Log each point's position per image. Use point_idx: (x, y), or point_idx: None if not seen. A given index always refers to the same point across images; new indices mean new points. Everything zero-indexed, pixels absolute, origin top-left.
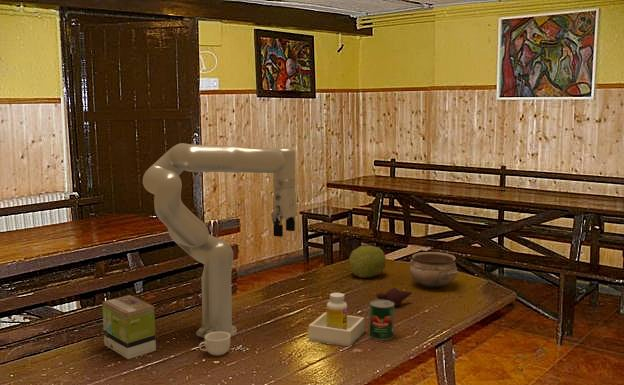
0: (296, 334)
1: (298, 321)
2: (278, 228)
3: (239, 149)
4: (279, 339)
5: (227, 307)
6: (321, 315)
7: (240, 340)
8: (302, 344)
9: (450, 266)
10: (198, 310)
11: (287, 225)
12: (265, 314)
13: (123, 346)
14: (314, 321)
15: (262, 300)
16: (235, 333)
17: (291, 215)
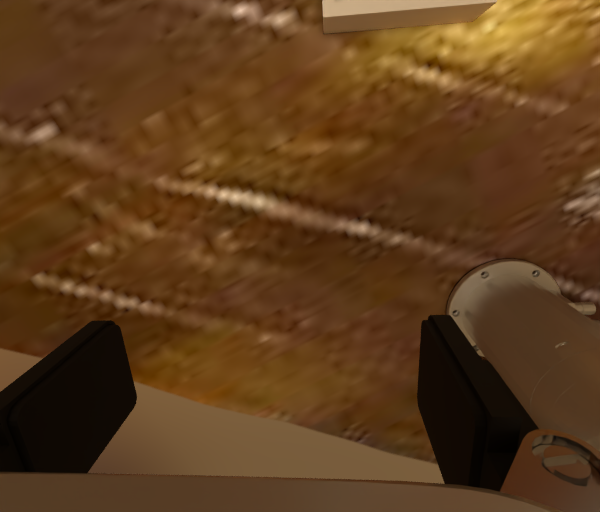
0: (431, 91)
1: (318, 144)
2: (525, 417)
3: None
4: (492, 121)
5: (571, 310)
6: (366, 11)
7: (534, 225)
8: (513, 24)
9: None
10: (355, 427)
11: (102, 430)
12: (306, 265)
13: None
14: (444, 2)
15: (203, 328)
16: (499, 260)
17: (178, 503)
